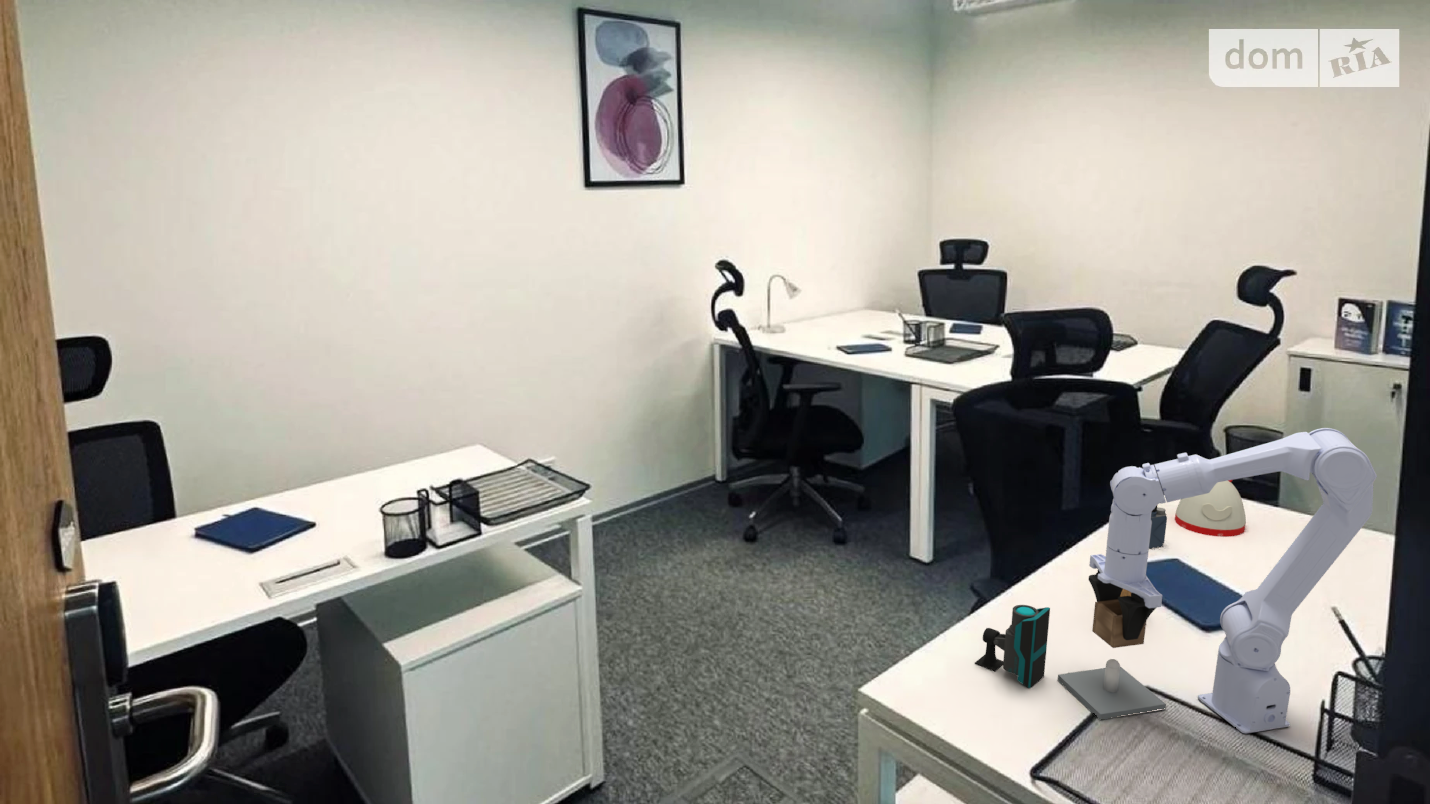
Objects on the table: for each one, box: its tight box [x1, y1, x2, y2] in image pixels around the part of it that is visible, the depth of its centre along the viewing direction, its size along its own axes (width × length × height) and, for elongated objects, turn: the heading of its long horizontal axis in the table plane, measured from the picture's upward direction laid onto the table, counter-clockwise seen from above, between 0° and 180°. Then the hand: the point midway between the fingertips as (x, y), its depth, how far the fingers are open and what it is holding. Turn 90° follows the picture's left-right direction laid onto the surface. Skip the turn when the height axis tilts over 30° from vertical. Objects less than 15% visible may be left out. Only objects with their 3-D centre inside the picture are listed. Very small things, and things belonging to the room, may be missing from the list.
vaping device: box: [1149, 505, 1168, 550], centre depth 191 cm, size 3×5×12 cm, turn 107°
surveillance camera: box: [974, 604, 1051, 689], centre depth 145 cm, size 6×12×10 cm
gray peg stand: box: [1057, 658, 1167, 720], centre depth 139 cm, size 11×11×6 cm
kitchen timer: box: [1174, 480, 1247, 538], centre depth 201 cm, size 14×14×15 cm
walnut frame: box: [1091, 599, 1147, 649], centre depth 138 cm, size 5×5×5 cm
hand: (1118, 629), depth 138 cm, fingers closed on walnut frame, 5 cm apart
